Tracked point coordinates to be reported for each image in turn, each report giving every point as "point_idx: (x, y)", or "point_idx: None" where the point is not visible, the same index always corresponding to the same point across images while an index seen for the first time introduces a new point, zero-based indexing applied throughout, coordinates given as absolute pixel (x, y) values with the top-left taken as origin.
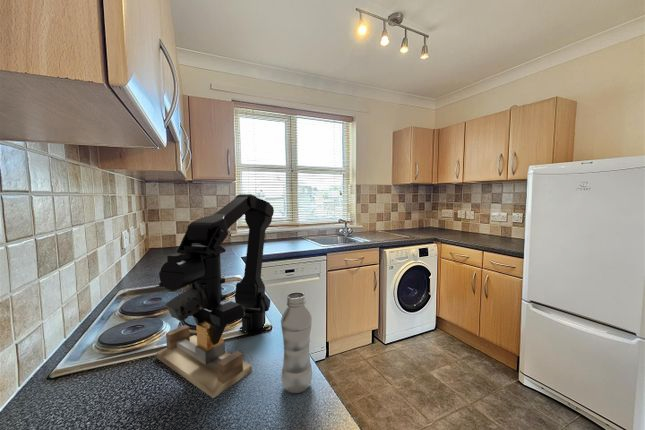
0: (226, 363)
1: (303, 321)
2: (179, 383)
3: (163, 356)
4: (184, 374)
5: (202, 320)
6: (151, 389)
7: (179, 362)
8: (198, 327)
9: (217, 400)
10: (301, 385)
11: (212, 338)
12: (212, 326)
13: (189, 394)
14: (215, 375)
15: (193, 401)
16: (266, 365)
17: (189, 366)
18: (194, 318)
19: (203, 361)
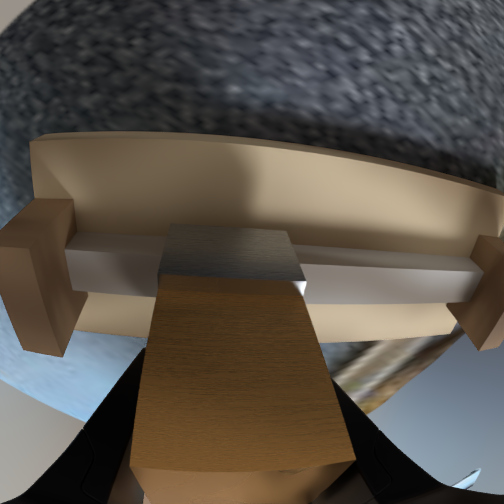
0: None
1: None
2: (278, 104)
3: (479, 191)
4: (294, 146)
5: (344, 489)
6: (364, 27)
7: (387, 191)
8: (308, 443)
9: (26, 139)
10: None
11: (134, 386)
12: (46, 497)
13: (155, 82)
14: (113, 214)
15: (98, 70)
16: (67, 347)
17: (311, 193)
18: (425, 478)
19: (194, 231)
